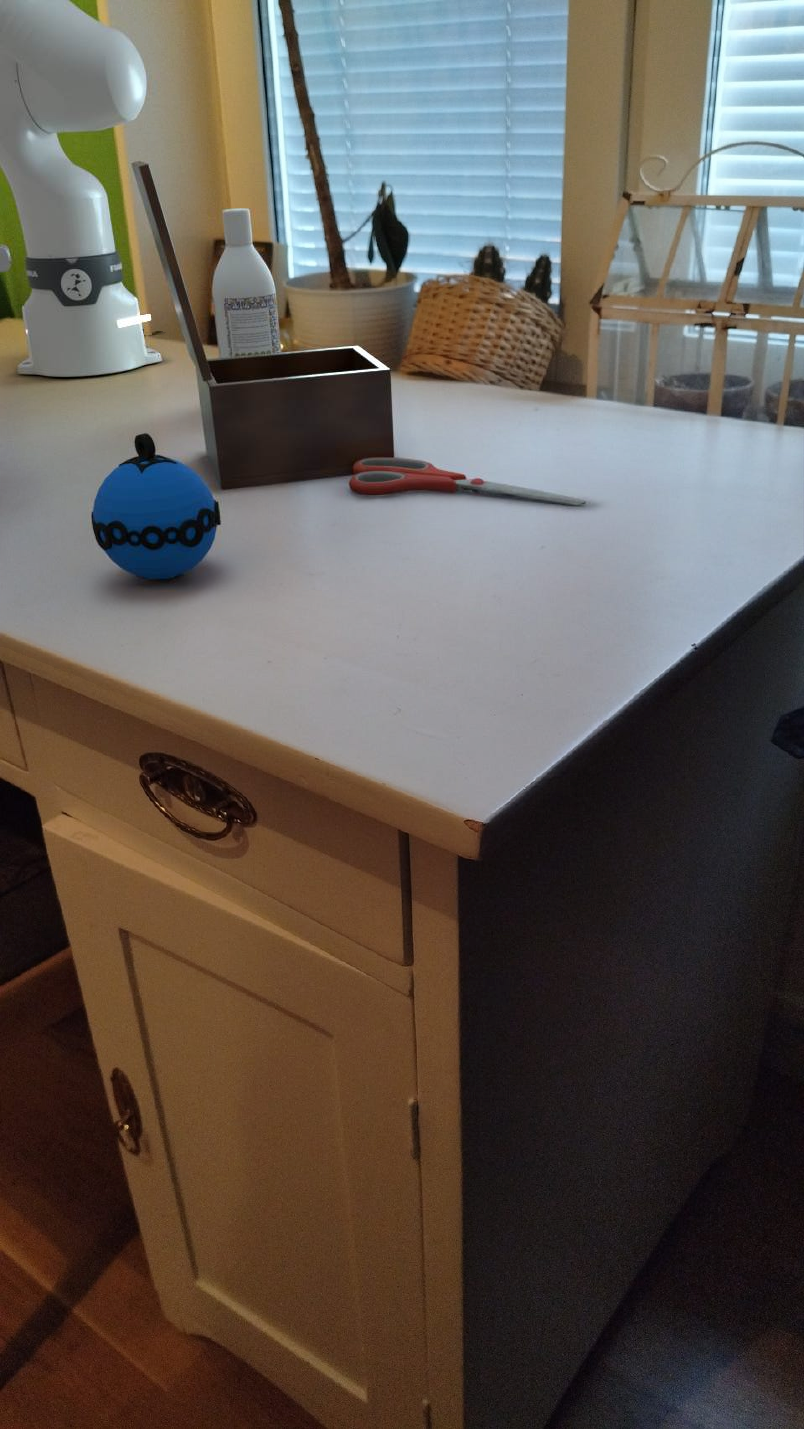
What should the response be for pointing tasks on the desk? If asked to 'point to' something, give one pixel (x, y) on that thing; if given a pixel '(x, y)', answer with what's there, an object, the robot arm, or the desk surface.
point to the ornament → (154, 515)
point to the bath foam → (244, 294)
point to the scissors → (432, 481)
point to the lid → (171, 267)
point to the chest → (295, 415)
